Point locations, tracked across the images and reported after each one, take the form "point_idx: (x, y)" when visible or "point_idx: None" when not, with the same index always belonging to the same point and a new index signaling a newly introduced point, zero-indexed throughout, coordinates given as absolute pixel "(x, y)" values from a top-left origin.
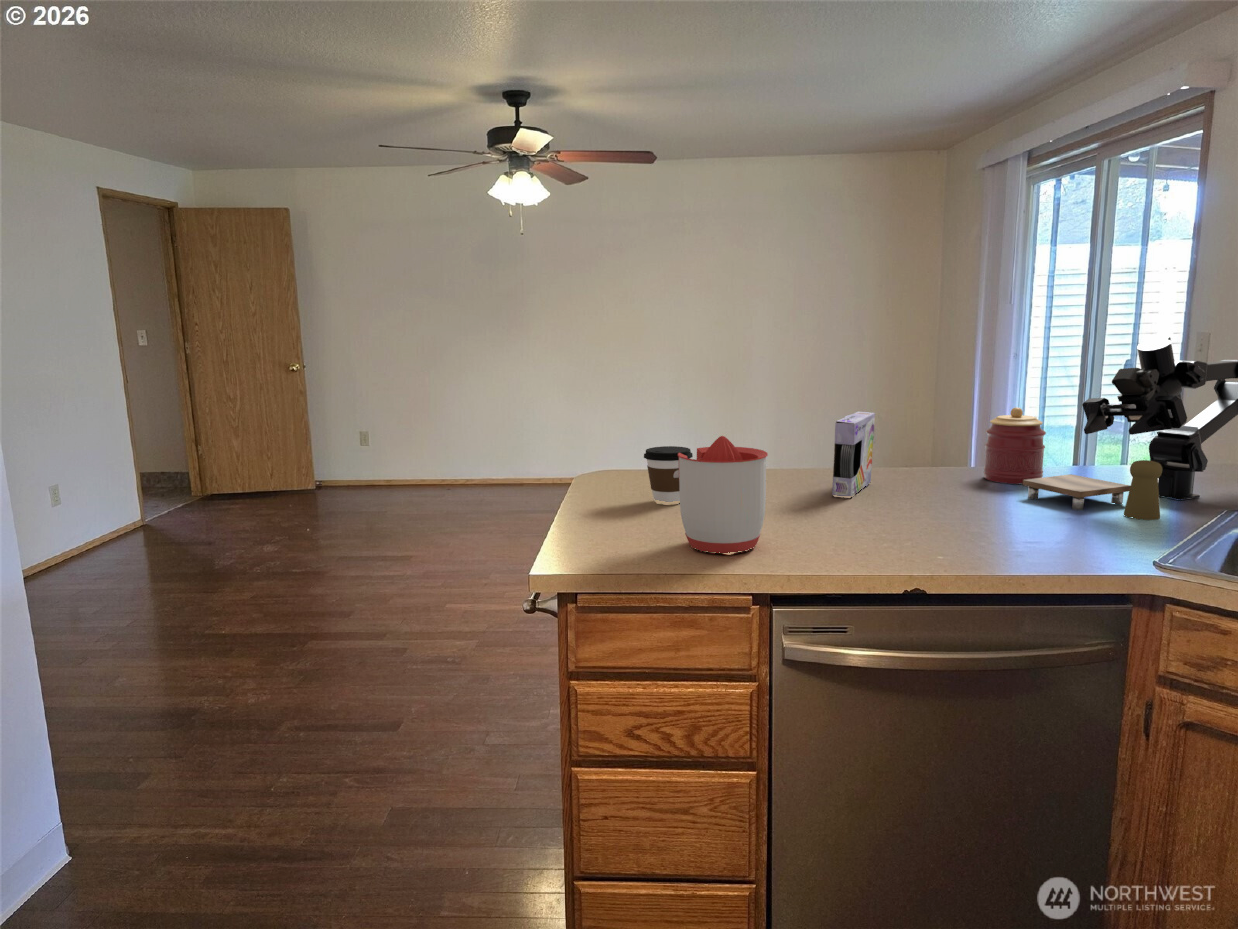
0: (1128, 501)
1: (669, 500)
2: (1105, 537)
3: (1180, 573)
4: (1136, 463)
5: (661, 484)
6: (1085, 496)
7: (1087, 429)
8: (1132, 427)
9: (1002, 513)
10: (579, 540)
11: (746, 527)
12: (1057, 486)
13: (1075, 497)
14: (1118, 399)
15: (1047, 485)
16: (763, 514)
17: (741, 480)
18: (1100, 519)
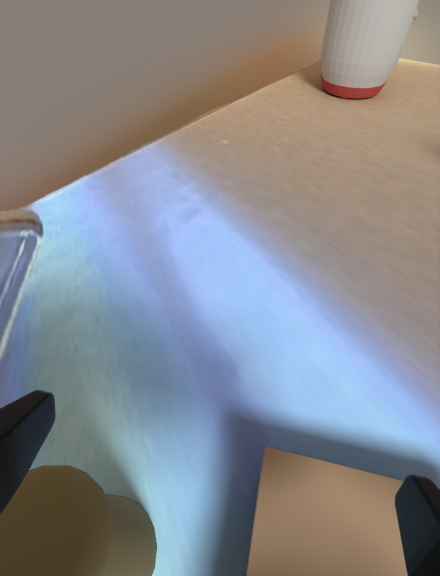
0: (129, 507)
1: None
2: (123, 290)
3: (11, 216)
4: (68, 480)
5: None
6: (259, 479)
7: (414, 500)
8: (17, 404)
9: (338, 313)
10: (410, 65)
11: (321, 61)
12: (367, 481)
13: None
14: None
15: (403, 481)
16: (331, 59)
17: (329, 7)
18: (179, 415)
